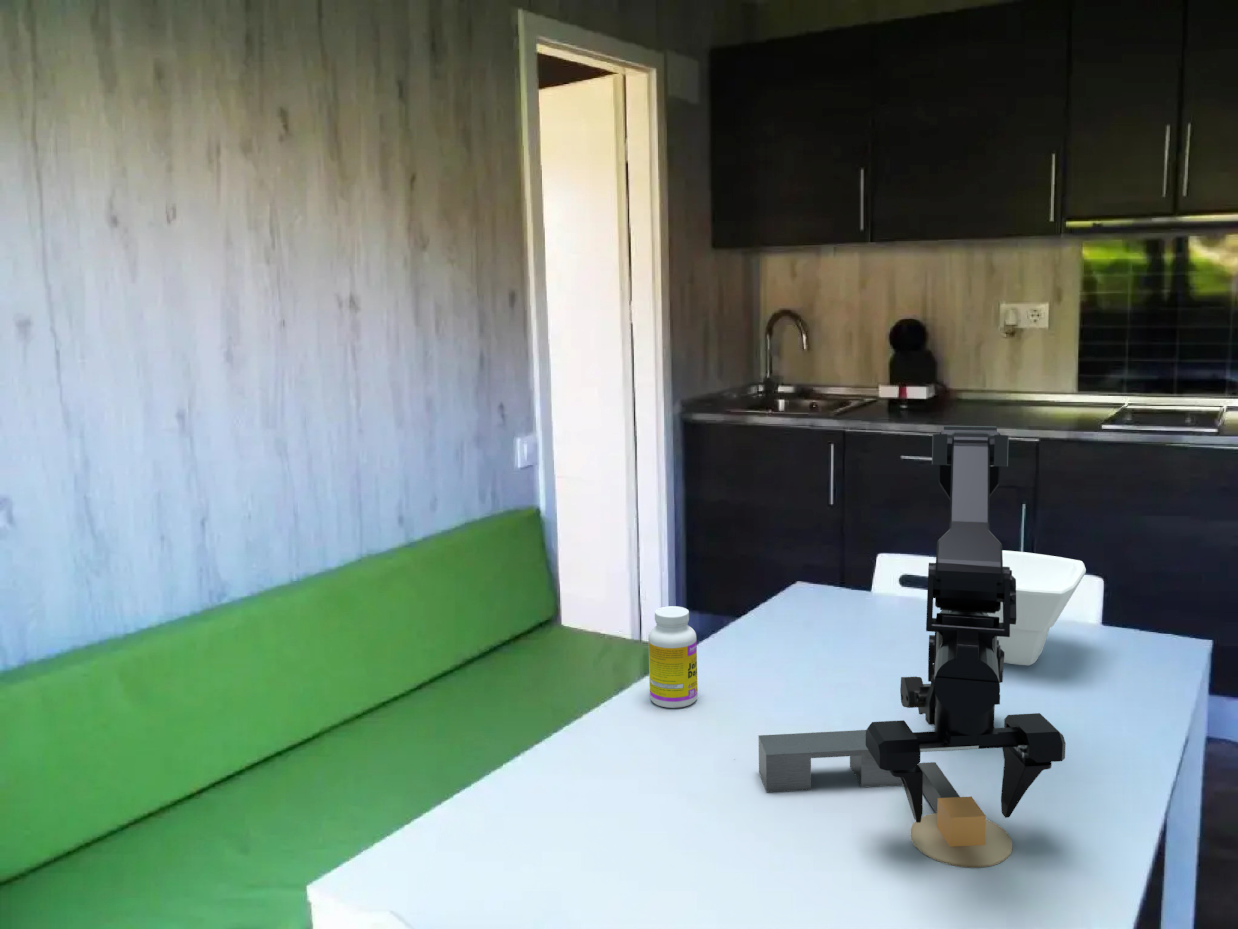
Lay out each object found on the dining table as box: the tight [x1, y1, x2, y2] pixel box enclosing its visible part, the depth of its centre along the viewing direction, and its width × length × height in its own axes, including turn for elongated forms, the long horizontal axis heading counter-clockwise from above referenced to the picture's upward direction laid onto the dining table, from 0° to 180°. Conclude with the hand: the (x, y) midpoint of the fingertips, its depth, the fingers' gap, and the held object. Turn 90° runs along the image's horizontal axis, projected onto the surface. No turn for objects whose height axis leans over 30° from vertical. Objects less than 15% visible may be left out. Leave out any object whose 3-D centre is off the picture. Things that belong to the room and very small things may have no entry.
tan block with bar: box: [918, 761, 987, 847], centre depth 113 cm, size 4×13×3 cm, turn 2°
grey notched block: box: [758, 729, 903, 793], centre depth 122 cm, size 16×5×5 cm, turn 92°
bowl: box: [987, 549, 1087, 666], centre depth 156 cm, size 19×19×14 cm
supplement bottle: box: [647, 605, 698, 709], centre depth 145 cm, size 7×7×13 cm
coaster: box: [909, 812, 1013, 869], centre depth 109 cm, size 10×10×1 cm
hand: (961, 818), depth 108 cm, fingers open, 9 cm apart
